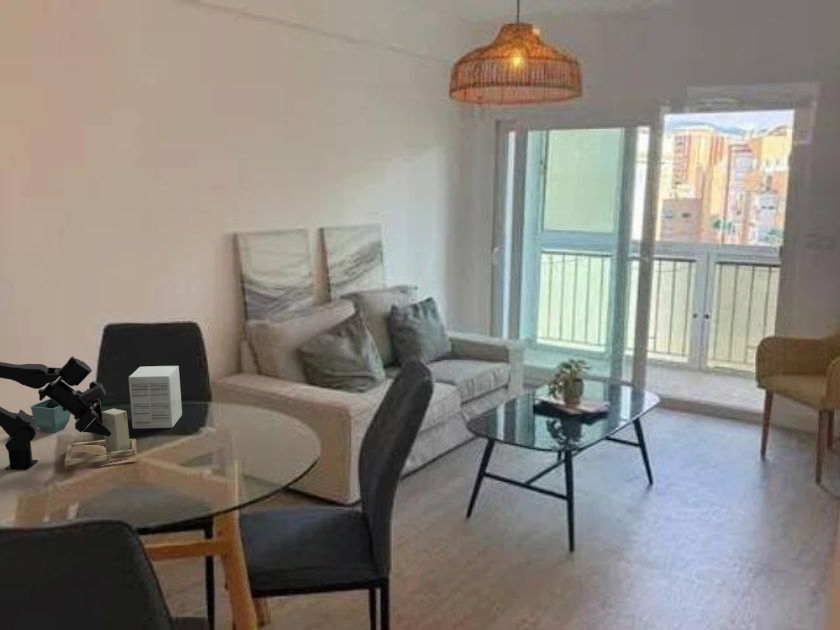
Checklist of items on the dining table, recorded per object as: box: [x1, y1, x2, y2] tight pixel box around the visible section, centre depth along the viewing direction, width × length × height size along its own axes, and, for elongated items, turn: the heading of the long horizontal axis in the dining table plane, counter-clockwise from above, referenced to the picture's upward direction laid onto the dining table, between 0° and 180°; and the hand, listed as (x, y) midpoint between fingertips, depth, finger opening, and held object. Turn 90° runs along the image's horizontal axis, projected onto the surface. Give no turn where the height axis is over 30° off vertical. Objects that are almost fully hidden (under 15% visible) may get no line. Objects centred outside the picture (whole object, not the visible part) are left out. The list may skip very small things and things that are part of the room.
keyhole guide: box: [63, 438, 138, 472], centre depth 230 cm, size 19×16×3 cm
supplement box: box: [128, 365, 183, 429], centre depth 259 cm, size 13×13×18 cm
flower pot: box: [30, 398, 72, 434], centre depth 252 cm, size 9×9×9 cm
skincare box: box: [102, 408, 130, 452], centre depth 230 cm, size 6×4×12 cm
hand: (110, 429), depth 230 cm, fingers open, 9 cm apart
